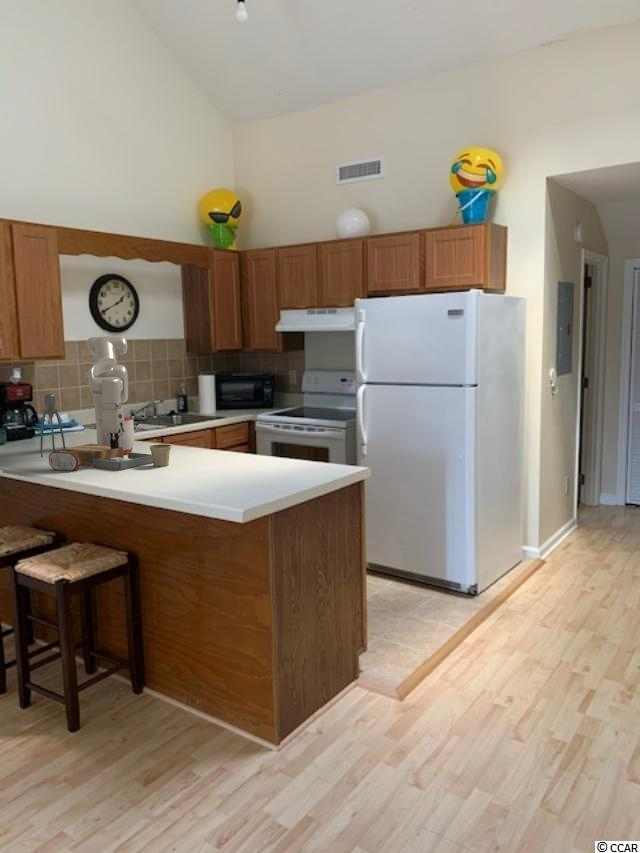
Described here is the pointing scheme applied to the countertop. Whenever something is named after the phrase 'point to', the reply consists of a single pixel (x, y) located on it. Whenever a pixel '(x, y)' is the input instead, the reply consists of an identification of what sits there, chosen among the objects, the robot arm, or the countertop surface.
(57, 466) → the tin
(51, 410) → the juicer
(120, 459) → the tile
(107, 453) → the board
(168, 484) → the countertop surface
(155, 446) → the flower pot
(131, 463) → the tray
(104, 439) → the citrus juicer
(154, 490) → the countertop surface
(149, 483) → the countertop surface
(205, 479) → the countertop surface
